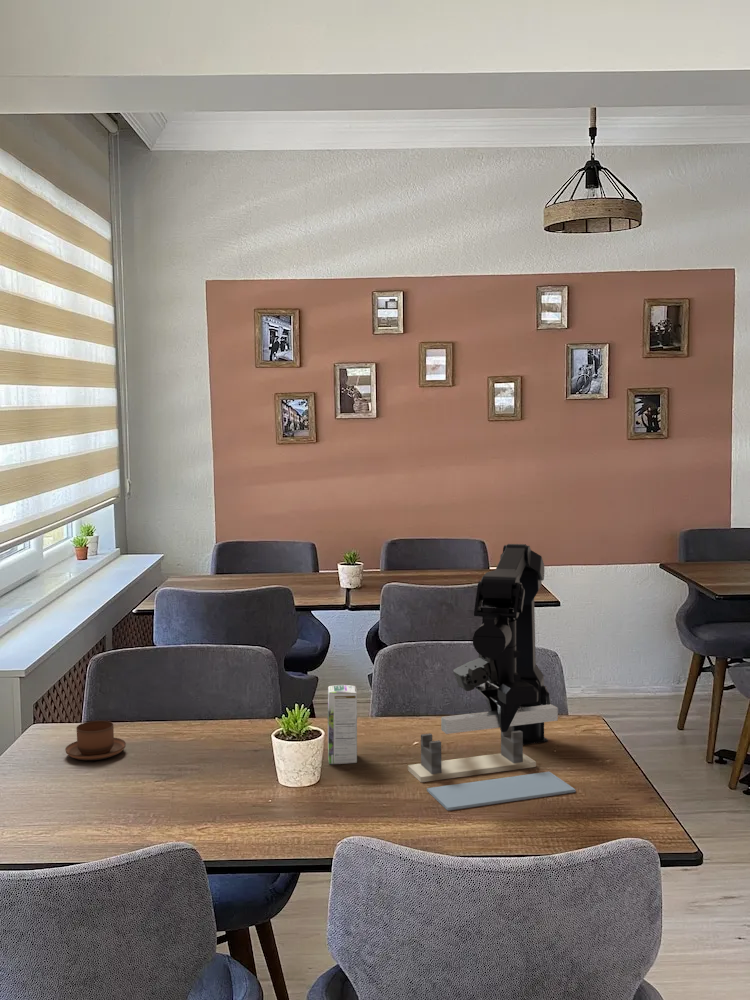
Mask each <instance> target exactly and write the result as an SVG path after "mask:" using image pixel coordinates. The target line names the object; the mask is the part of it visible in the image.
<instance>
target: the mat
mask: <svg viewBox="0 0 750 1000" xmlns="http://www.w3.org/2000/svg"><path fill="white" fill-rule="evenodd" d="M426 791H427V792H428V793H429V795H431V796H432V798H434V800H436V801H437V802H438V803H439V804H440V805H441V806H442V807H443V808H444V809H445V810H447V811H455V810H462V809H468V808H476V807H482V806H483V807H484V806H488V805H489V806H491V805H495V804H502V803H509V802H517V801H523V800H530V799H536V798H537V799H538V798H543V797H544V798H545V797H550V796H551V797H552V796H558V795H565V794H572V793H576V789H575V788H574V787H573V786H571V785H570V784H569V783H567V782H566V781H564V780H563V779H561V778H559V777H558V775H557V776H556V775H555V774H554V773H552V772H551V771H544V772H543V771H541V772H536V773H527V774H521V775H513V776H506V777H499V778H493V779H492V778H491V779H485V780H478V781H477V780H476V781H471V782H462V783H456V784H448V785H447V784H446V785H441V786H434V787H433V786H432V787H427V788H426Z"/></svg>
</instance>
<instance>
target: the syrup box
mask: <svg viewBox="0 0 750 1000" xmlns="http://www.w3.org/2000/svg"><path fill="white" fill-rule="evenodd" d="M357 695H358V693H357V687H356V685H348V684H336V685H335V684H334V685H329V686H328V687H327V759H328V760H327V761H328V764H329V765H341V764H342V765H343V764H356V763H358V696H357Z"/></svg>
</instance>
